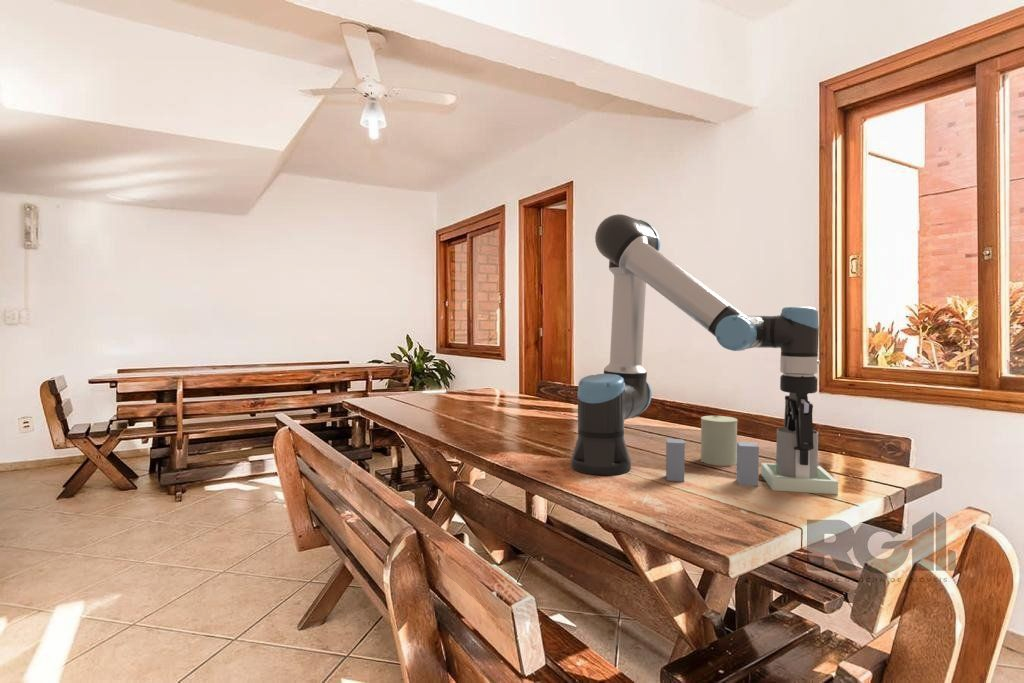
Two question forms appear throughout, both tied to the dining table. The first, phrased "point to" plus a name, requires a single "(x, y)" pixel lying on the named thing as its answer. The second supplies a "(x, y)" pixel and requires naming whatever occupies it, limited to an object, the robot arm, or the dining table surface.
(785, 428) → the cup
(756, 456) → the block
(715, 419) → the can
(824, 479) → the tray
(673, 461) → the block
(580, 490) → the dining table surface
